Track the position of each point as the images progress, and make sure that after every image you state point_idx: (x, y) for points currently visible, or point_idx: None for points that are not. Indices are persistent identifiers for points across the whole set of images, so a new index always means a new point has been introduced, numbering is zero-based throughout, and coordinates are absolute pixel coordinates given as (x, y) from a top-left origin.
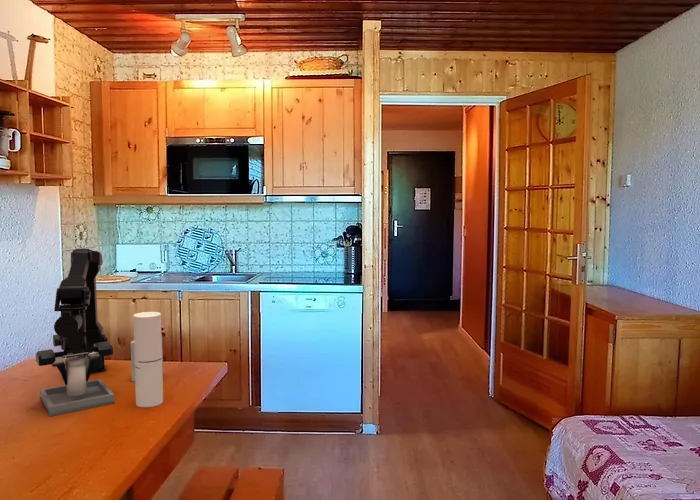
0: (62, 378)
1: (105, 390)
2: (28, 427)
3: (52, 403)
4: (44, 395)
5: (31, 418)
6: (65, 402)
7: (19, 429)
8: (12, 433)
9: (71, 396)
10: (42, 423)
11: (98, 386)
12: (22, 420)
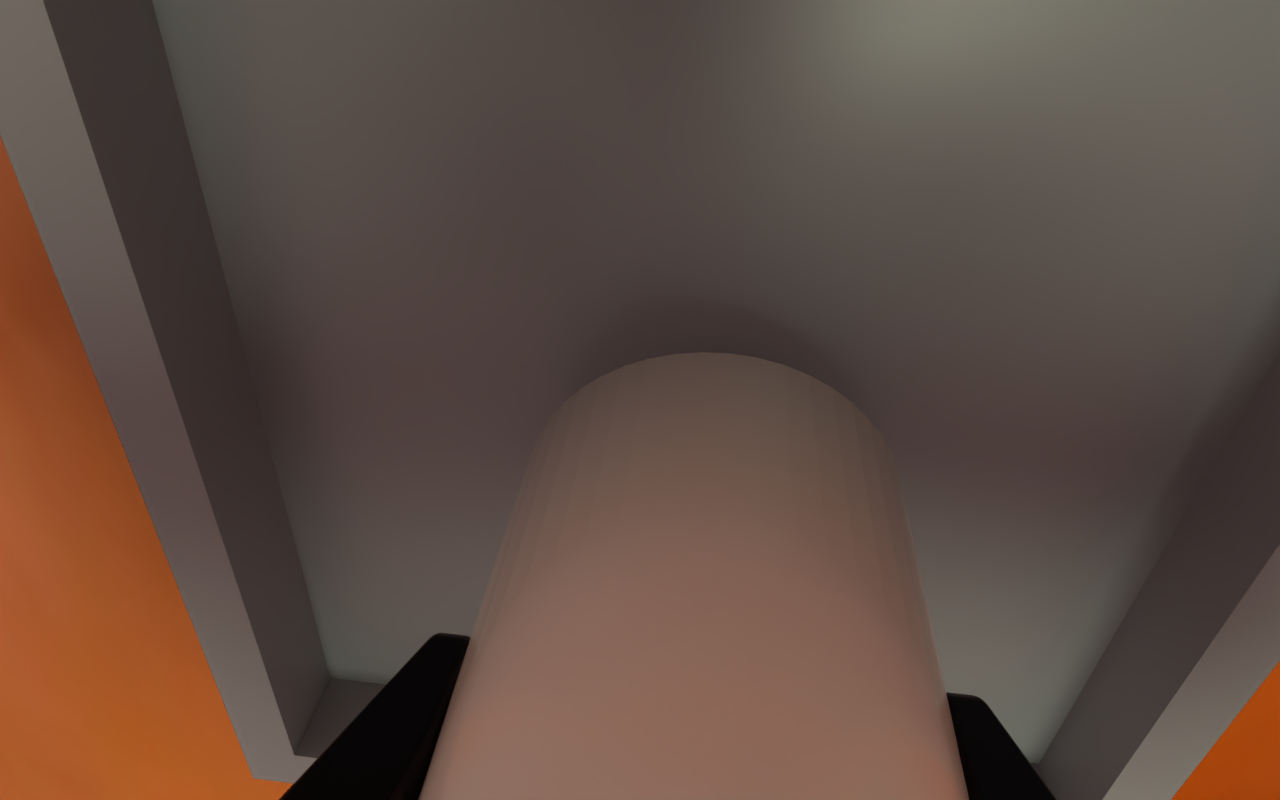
0: (318, 782)
1: (1167, 673)
2: (124, 751)
3: (309, 434)
4: (95, 327)
5: (105, 601)
6: (500, 513)
7: (51, 742)
8: (13, 770)
9: (650, 317)
10: (241, 750)
11: None
12: (14, 594)
